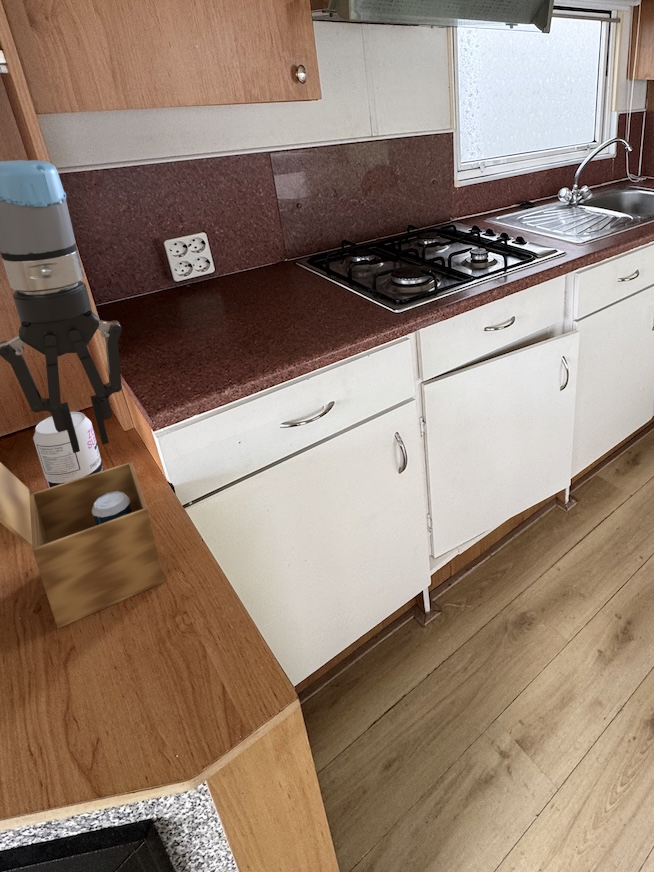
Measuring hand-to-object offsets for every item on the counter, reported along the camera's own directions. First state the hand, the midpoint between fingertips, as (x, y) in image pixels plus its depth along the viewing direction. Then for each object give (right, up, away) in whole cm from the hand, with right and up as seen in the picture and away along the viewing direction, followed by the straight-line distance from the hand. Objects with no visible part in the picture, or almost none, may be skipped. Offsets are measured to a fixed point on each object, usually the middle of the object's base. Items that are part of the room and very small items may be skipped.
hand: (90, 443), depth 81 cm
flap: (-7, -7, -4) cm, 11 cm away
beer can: (0, -21, +8) cm, 22 cm away
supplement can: (-18, -15, +24) cm, 34 cm away
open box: (-2, -22, +6) cm, 23 cm away
